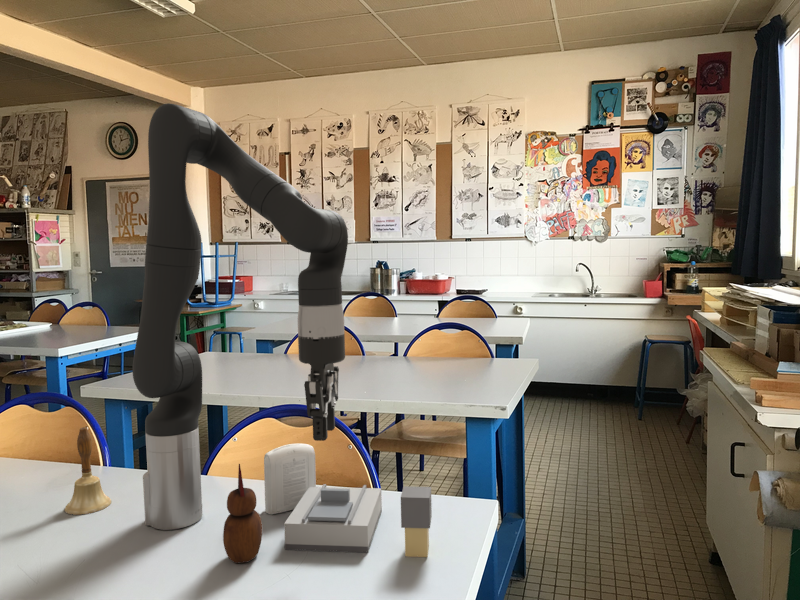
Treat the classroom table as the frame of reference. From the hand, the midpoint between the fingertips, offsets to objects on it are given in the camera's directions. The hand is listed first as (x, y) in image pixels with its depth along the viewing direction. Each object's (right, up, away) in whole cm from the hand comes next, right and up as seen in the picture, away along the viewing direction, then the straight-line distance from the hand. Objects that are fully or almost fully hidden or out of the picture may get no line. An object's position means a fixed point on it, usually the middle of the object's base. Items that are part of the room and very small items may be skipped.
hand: (324, 434), depth 99 cm
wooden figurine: (-13, -20, -1) cm, 24 cm away
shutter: (+1, -14, +5) cm, 15 cm away
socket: (+1, -19, +8) cm, 21 cm away
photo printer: (-9, -19, +18) cm, 28 cm away
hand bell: (-50, -19, +21) cm, 57 cm away
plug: (+15, -19, 0) cm, 24 cm away
